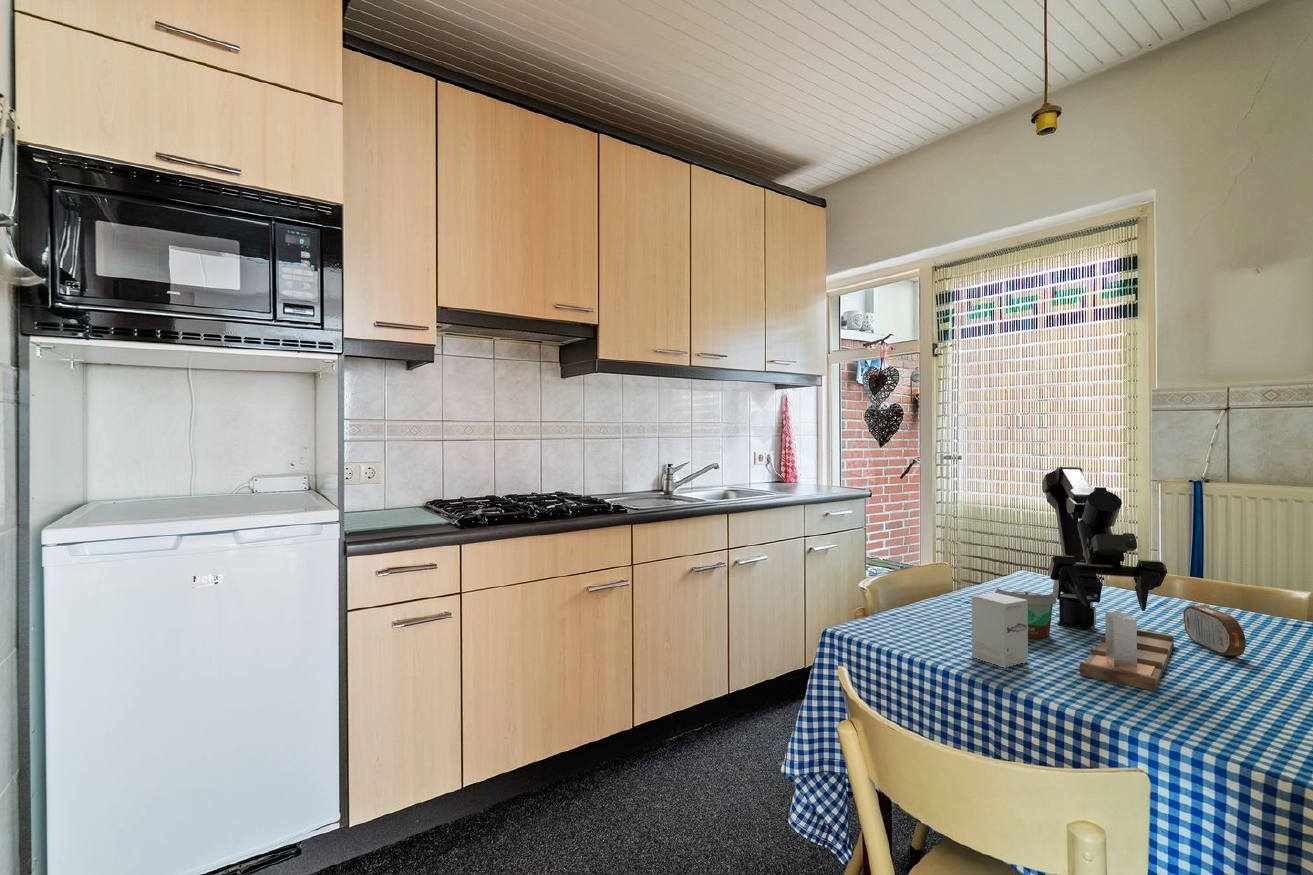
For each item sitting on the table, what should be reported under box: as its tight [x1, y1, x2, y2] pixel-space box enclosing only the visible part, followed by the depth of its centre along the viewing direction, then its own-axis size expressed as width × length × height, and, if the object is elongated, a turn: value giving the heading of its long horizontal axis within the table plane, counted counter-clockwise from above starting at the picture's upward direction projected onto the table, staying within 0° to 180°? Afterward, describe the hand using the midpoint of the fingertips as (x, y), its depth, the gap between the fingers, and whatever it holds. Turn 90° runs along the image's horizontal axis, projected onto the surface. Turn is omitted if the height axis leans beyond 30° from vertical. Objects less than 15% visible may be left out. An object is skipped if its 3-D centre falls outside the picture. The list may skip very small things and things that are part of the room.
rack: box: [1079, 628, 1175, 692], centre depth 121 cm, size 11×34×2 cm, turn 135°
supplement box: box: [971, 592, 1029, 669], centre depth 121 cm, size 7×7×13 cm
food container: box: [994, 587, 1057, 641], centre depth 136 cm, size 12×6×10 cm, turn 68°
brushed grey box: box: [1104, 611, 1138, 672], centre depth 114 cm, size 5×4×10 cm
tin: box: [1183, 604, 1247, 657], centre depth 128 cm, size 15×3×8 cm, turn 168°
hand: (1114, 607), depth 117 cm, fingers open, 9 cm apart
